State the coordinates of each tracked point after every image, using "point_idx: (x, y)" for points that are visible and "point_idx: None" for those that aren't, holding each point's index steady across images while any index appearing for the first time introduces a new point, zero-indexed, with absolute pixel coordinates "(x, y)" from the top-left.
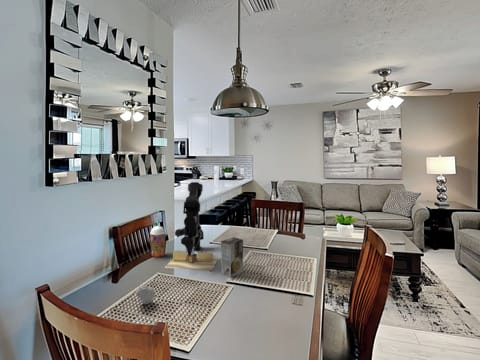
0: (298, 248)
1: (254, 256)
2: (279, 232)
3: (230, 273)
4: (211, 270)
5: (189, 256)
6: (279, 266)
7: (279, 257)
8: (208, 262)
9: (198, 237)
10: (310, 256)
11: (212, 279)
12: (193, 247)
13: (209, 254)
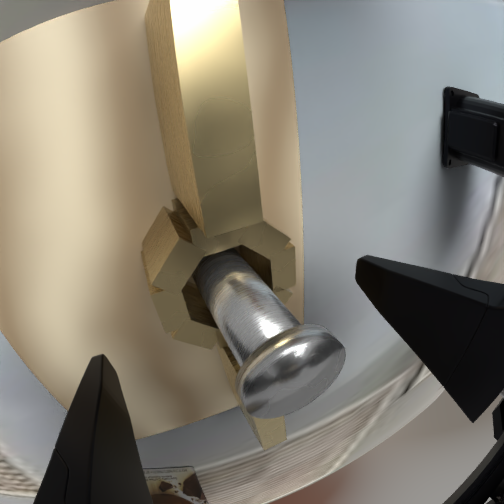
0: (394, 423)
1: (349, 419)
2: None
3: None
4: None
5: (161, 297)
6: (266, 486)
7: (337, 450)
8: (220, 380)
9: (478, 411)
10: (341, 464)
11: (36, 463)
12: (270, 417)
13: (255, 432)
